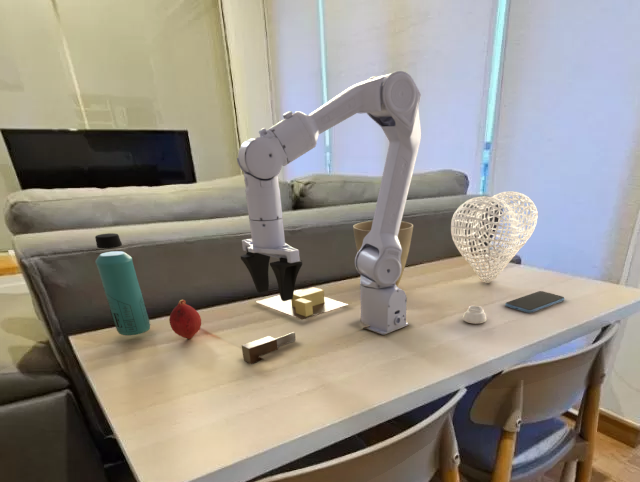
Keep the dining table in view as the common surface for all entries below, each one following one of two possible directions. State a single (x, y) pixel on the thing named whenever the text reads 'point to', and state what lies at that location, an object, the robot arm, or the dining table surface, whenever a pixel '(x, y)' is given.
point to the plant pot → (403, 238)
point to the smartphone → (534, 301)
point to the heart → (477, 216)
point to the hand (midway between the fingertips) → (274, 295)
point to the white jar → (475, 315)
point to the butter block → (309, 296)
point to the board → (290, 310)
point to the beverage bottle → (121, 287)
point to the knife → (264, 347)
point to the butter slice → (303, 307)
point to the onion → (185, 320)
